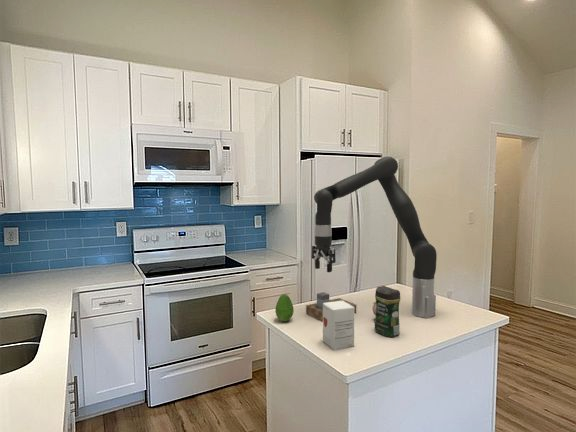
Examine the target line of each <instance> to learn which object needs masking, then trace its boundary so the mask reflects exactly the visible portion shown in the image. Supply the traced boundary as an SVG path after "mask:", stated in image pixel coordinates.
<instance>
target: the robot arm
mask: <svg viewBox="0 0 576 432" xmlns="http://www.w3.org/2000/svg"><path fill="white" fill-rule="evenodd" d="M398 163H399V162H398V161H397V159H395V157H393V156H383V157H381V158H379V159H377V160H376V161H375V162H374V164H373V165H372V166H369V167H368V168H366V169H364V170H362V171H359V172H357V173H354V174H352V175H350V176H348V177H346V178H343V179H341V180H340V181H337V182H335V183H334V184H331V185H329V186H327V187H324V188H321V189H319V190H317V191H316V192H315V194H314V196H313V200H314V202H315V204H316V213H315V215H314V217H315V218H314V223H315V224H314V245H312V246H311V259H312V260H314V269H316V270H319V269H320V268H321V264H320V263H321V261H320V260H321V258H322V259H324V261H325V262H326V272H327V273H331V272H332V271H333V264H334V263H336V249H335V248H334V249H333V248H332V249H331V246H332V243H333V242H332V239H333V238H332V236H333V235H332V234H333V233H332V232H333V231H332V210H333V201H335V200H337V199H341V198H344V197H346V196H348V195H350V194H352V193H354V192H356V191H357V190H358V191H359V189H362V188H364V187H365V186H367V185H369V184H371V183H373V182H375V181H378V182H379V183H380V186H381V187H382V189H383V191H384V193H385V196H386V198H387V201H388V203H389V205H390V208H391V209H392V211H393V212H392V213H393V214H394V216H395V218H396V220H397V222H398V224H399V226H400V227H401V229H402V230H403V233H404V235H405V236H406V238H407V241H408V243H409V247H410V250H411V253H412V255H413V257H414V268H413V271H412V290H411V291H412V293H411V295H412V296H411V297H412V299H411V300H412V301H411V314H412V315H413V316H415V317H418V318H419V317H420V318H425V319H428V318H431V317H435V316H436V306H437V305H436V304H437V301H436V300H437V299H436V297H437V296H436V294H435V274H436V271H437V257H438V256H437V255H438V253H437V250H436V248H435V246H433V245H432V244H431V243H429V241H428V239H427V237H426V236H425V234H424V231H423V230H422V227H421V224H420V220H419V219H420V218H419V215H418V213H417V212H418V211H417V210H416V207H415V206H414V203H413V201H412V199H411V198H410V196H409V195H408V194H407V193H406V192H405V190H404V189H403V188H402V186H401V185H400V184H399V182H398V180H397V177H396V175H395V174H396V173H397V172H398V169H399V164H398Z"/></svg>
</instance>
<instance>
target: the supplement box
mask: <svg viewBox="0 0 576 432" xmlns="http://www.w3.org/2000/svg"><path fill="white" fill-rule="evenodd" d="M343 300H344V299H343ZM343 300H342V301H335V302H326V303H323V322H322V342H324V343H325V344H326V345H327V346H328V347H329V348H331V349H332V350H333V351H335V350H336V351H337V350H342V349H345V348H351V347H354V346H355V314H354V311H355V308H354V307H353V306H351V305H350V304H348V303H346V302H344V301H343Z"/></svg>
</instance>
